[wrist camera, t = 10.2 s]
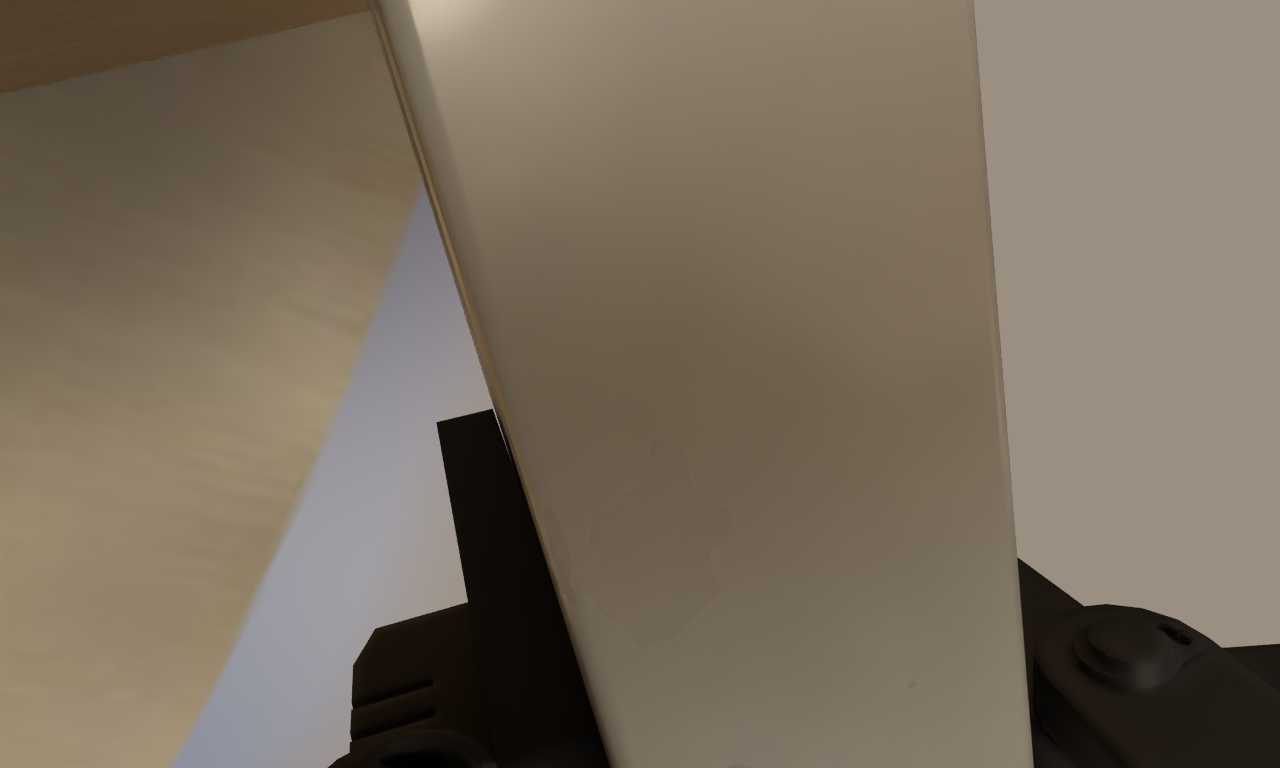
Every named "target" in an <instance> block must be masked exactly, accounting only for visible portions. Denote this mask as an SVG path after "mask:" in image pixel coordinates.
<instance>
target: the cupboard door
mask: <svg viewBox="0 0 1280 768" xmlns="http://www.w3.org/2000/svg"><path fill="white" fill-rule="evenodd" d="M369 10H370V13H371V17H372V20H373V23H374V26H375V29H376V33H377V36H378V39H379V42H380V45H381V49H382V52H383V55H384V58H385V61H386V64H387V68H388V71H389V74H390V77H391V80H392V84H393V87H394V90H395V93H396V96H397V100H398V103H399V106H400V109H401V112H402V115H403V119H404V122H405V125H406V128H407V131H408V135H409V138H410V141H411V144H412V147H413V151H414V154H415V157H416V160H417V163H418V166H419V170H420V173H421V176H422V179H423V182H424V186H425V189H426V192H427V195H428V198H429V202H430V205H431V207H432V211H433V214H434V217H435V220H436V224H437V227H438V230H439V233H440V237H441V240H442V243H443V246H444V249H445V253H446V256H447V259H448V262H449V265H450V269H451V272H452V275H453V278H454V281H455V284H456V288H457V291H458V294H459V297H460V300H461V304H462V307H463V310H464V313H465V316H466V319H467V323H468V326H469V329H470V332H471V335H472V338H473V342H474V345H475V348H476V351H477V354H478V358H479V361H480V364H481V367H482V371H483V374H484V377H485V380H486V383H487V386H488V389H489V393H490V396H491V399H492V402H493V405H494V409H495V412H496V415H497V418H498V421H499V424H500V427H501V430H502V433H503V437H504V440H505V443H506V446H507V449H508V452H509V455H510V458H511V462H512V465H513V467H514V470H515V473H516V476H517V479H518V481H519V484H520V487H521V490H522V493H523V495H524V498H525V501H526V504H527V507H528V509H529V512H530V515H531V518H532V521H533V523H534V526H535V529H536V532H537V534H538V537H539V540H540V544H541V547H542V550H543V553H544V556H545V560H546V563H547V566H548V569H549V572H550V576H551V579H552V582H553V585H554V589H555V592H556V595H557V598H558V601H559V605H560V608H561V611H562V614H563V617H564V621H565V624H566V627H567V630H568V633H569V637H570V640H571V643H572V646H573V649H574V653H575V656H576V659H577V662H578V665H579V669H580V672H581V675H582V678H583V682H584V685H585V688H586V691H587V694H588V698H589V701H590V704H591V707H592V710H593V714H594V717H595V720H596V723H597V726H598V730H599V733H600V736H601V739H602V742H603V746H604V749H605V752H606V755H607V759H608V762H609V765H610V768H1034V765H1033V752H1032V739H1031V727H1030V714H1029V701H1028V688H1027V676H1026V663H1025V650H1024V638H1023V625H1022V612H1021V599H1020V587H1019V574H1018V561H1017V549H1016V536H1015V523H1014V511H1013V498H1012V486H1011V472H1010V460H1009V447H1008V434H1007V421H1006V409H1005V397H1004V384H1003V371H1002V358H1001V346H1000V334H999V321H998V307H997V295H996V282H995V269H994V256H993V243H992V231H991V218H990V205H989V193H988V181H987V167H986V155H985V142H984V130H983V116H982V104H981V91H980V78H979V65H978V53H977V40H976V28H975V15H974V2H973V0H0V94H4V93H8V92H12V91H17V90H21V89H26V88H30V87H34V86H39V85H43V84H48V83H52V82H56V81H61V80H65V79H70V78H74V77H79V76H83V75H87V74H92V73H96V72H101V71H105V70H109V69H114V68H118V67H123V66H127V65H131V64H136V63H140V62H145V61H149V60H153V59H158V58H162V57H167V56H171V55H175V54H180V53H184V52H189V51H193V50H197V49H202V48H206V47H211V46H215V45H219V44H224V43H228V42H233V41H237V40H241V39H246V38H250V37H255V36H259V35H263V34H268V33H272V32H277V31H281V30H285V29H290V28H294V27H299V26H303V25H307V24H312V23H316V22H321V21H325V20H329V19H334V18H338V17H343V16H347V15H351V14H356V13H360V12H365V11H369Z"/></svg>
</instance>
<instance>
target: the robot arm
mask: <svg viewBox="0 0 1280 768" xmlns="http://www.w3.org/2000/svg"><path fill="white" fill-rule="evenodd" d="M437 428H438V434H439V439H440V444H441V451H442V456H443V462H444V468H445V473H446V479H447V484H448V490H449V496H450V502H451V507H452V513H453V518H454V524H455V529H456V535H457V542H458V547H459V553H460V558H461V564H462V570H463V576H464V581H465V587H466V593H467V598H468V602H467V603H464V604H460V605H457V606H453V607H450V608H446V609H443V610H439V611H436V612H432V613H429V614H425V615H422V616H418V617H415V618H411V619H408V620H404V621H401V622H397V623H394V624H390V625H387V626H383V627H380V628H376V629H375V630H374V632H373V634H372V635H371V637H370V639H369V640H368V642H367V644H366V645H365V647H364V649H363V650H362V652H361V653H360V655H359V657H358V659H357V660H356V662H355V663H354V665H353V683H352V684H353V685H352V706H353V710H351V730H350V735H351V739H352V742H350V753H348V754H347V755H345V756H343V757H341V758H339V759H337V760H336V761H335V762H334V763H333V764H332V765H330V766H329V767H328V768H610V765H609V762H608V759H607V755H606V752H605V749H604V746H603V742H602V739H601V736H600V733H599V730H598V726H597V723H596V720H595V717H594V714H593V710H592V707H591V704H590V701H589V698H588V694H587V691H586V688H585V685H584V682H583V678H582V675H581V672H580V669H579V665H578V662H577V659H576V656H575V653H574V649H573V646H572V643H571V640H570V637H569V633H568V630H567V627H566V624H565V621H564V617H563V614H562V611H561V608H560V605H559V601H558V598H557V595H556V592H555V589H554V585H553V582H552V579H551V576H550V572H549V569H548V566H547V563H546V560H545V556H544V553H543V550H542V547H541V544H540V540H539V537H538V534H537V532H536V529H535V526H534V523H533V521H532V518H531V515H530V512H529V509H528V507H527V504H526V501H525V498H524V495H523V493H522V490H521V487H520V484H519V481H518V479H517V476H516V473H515V470H514V467H513V465H512V462H511V459H510V456H509V453H508V451H507V448H506V445H505V442H504V440H503V437H502V434H501V431H500V428H499V426H498V423H497V420H496V417H495V414H494V412H493V409H490V410H486V411H482V412H477V413H474V414H469V415H466V416H461V417H457V418H453V419H448V420H444V421H440V422H437ZM1017 561H1018V574H1019V587H1020V599H1021V612H1022V625H1023V638H1024V650H1025V663H1026V676H1027V688H1028V701H1029V714H1030V727H1031V739H1032V752H1033V765H1034V768H1280V644H1271V645H1257V646H1244V647H1231V648H1221V647H1220V646H1219V645H1217V644H1216V643H1215V642H1214V641H1212V640H1211V639H1210V638H1208V637H1207V636H1205V635H1203V634H1201V633H1200V632H1198V631H1196V630H1194V629H1193V628H1191V627H1190V626H1188V625H1186V624H1184V623H1182V622H1181V621H1179V620H1177V619H1174V618H1171V617H1168V616H1165V615H1161V614H1158V613H1155V612H1152V611H1149V610H1146V609H1143V608H1135V607H1126V606H1118V605H1109V604H1103V605H1094V606H1083V605H1082V604H1080V603H1079V602H1078V601H1076V600H1075V599H1074V598H1072V597H1071V596H1070V595H1068V594H1067V593H1065V592H1064V591H1063V590H1061V589H1060V588H1059V587H1057V586H1056V585H1055V584H1053V583H1052V582H1050V581H1049V580H1048V579H1046V578H1045V577H1044V576H1042V575H1041V574H1039V573H1038V572H1037V571H1035V570H1034V569H1033V568H1031V567H1030V566H1029V565H1027V564H1026V563H1024V562H1023V561H1022V560H1020V559H1019V558H1018V557H1017Z"/></svg>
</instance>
